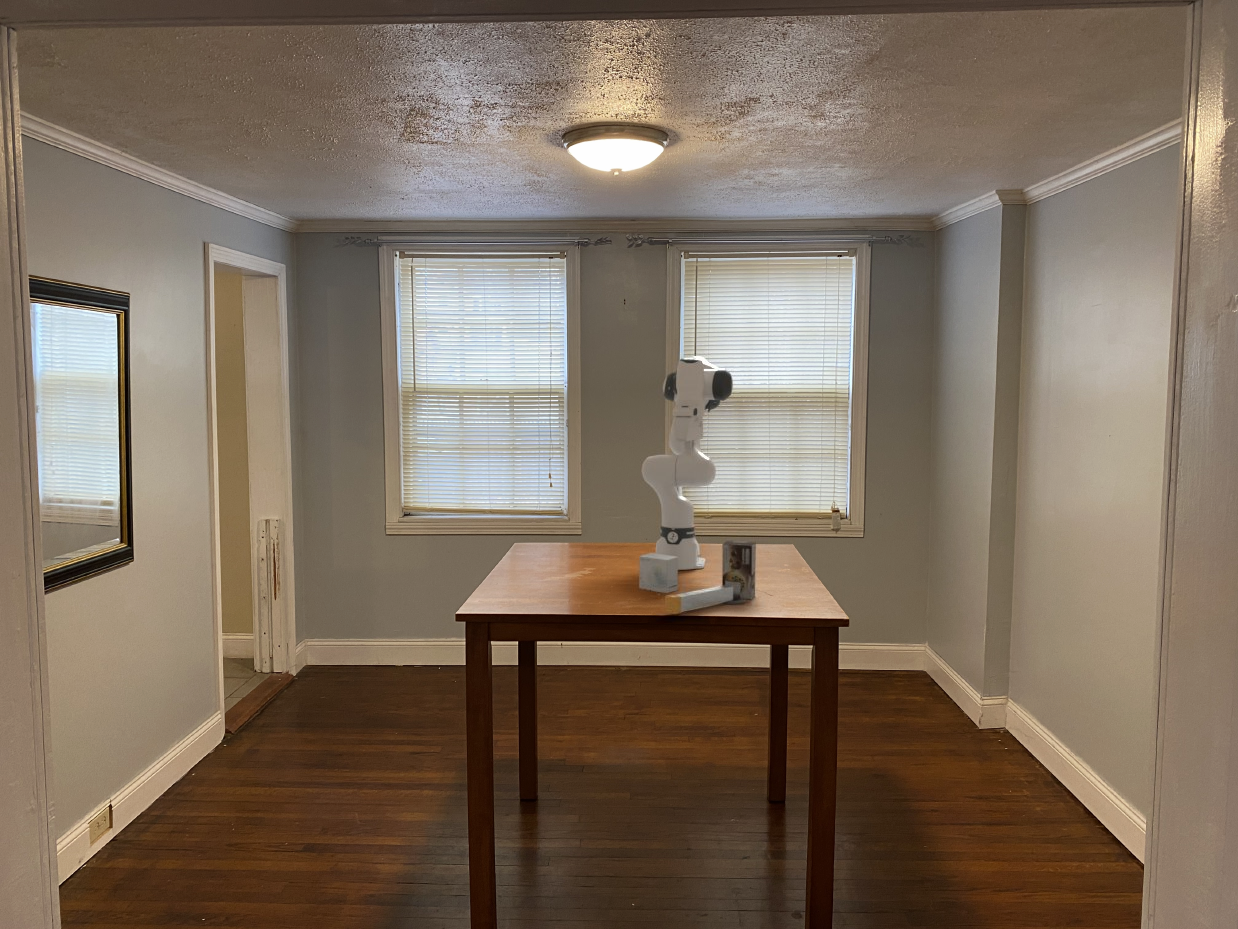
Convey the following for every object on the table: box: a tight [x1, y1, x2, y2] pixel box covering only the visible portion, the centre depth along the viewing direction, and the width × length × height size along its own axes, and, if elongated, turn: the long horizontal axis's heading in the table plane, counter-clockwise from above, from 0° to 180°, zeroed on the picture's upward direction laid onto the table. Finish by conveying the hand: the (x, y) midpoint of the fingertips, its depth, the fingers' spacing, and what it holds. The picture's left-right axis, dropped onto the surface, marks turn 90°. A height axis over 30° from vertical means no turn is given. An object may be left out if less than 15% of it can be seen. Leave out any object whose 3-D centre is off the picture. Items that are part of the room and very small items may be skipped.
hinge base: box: [722, 597, 746, 606], centre depth 257 cm, size 7×7×1 cm
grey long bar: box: [664, 580, 741, 615], centre depth 249 cm, size 28×4×5 cm, turn 132°
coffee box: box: [721, 540, 757, 600], centre depth 264 cm, size 9×6×16 cm
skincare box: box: [638, 552, 679, 594], centre depth 272 cm, size 10×6×10 cm, turn 53°
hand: (689, 455), depth 275 cm, fingers closed
